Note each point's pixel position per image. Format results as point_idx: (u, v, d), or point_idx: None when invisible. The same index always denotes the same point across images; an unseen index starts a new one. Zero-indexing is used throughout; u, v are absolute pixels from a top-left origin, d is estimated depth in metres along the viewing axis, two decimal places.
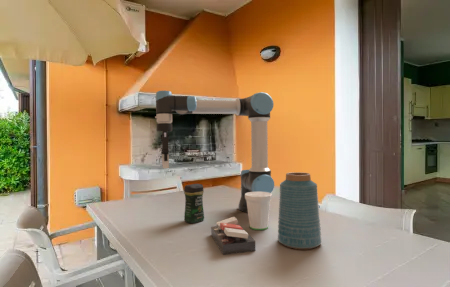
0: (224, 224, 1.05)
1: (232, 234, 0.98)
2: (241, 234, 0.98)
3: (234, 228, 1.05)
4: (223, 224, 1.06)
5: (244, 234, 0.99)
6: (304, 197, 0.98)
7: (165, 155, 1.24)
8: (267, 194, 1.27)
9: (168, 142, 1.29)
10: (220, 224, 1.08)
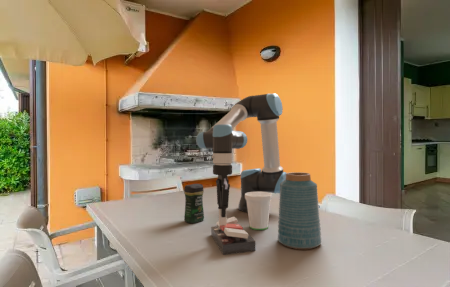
0: (224, 225, 1.05)
1: (232, 234, 0.98)
2: (241, 234, 0.98)
3: (234, 228, 1.05)
4: (223, 225, 1.06)
5: (244, 234, 0.99)
6: (304, 197, 0.98)
7: (223, 210, 1.04)
8: (267, 194, 1.27)
9: None
10: (220, 225, 1.08)
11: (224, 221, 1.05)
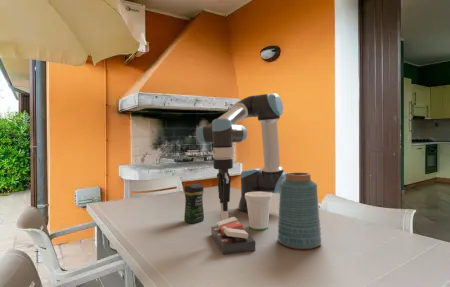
0: (223, 227, 1.05)
1: (232, 234, 0.98)
2: (241, 234, 0.98)
3: (234, 227, 1.05)
4: (222, 228, 1.06)
5: (244, 234, 0.99)
6: (304, 197, 0.98)
7: (225, 204, 1.04)
8: (267, 194, 1.27)
9: None
10: (220, 228, 1.08)
11: (226, 215, 1.06)
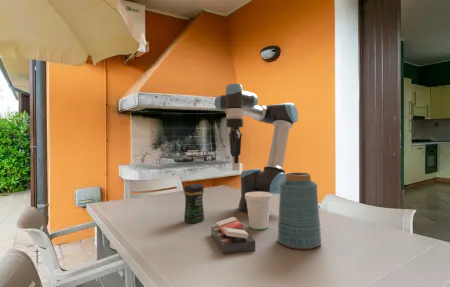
0: (223, 228, 1.05)
1: (232, 234, 0.98)
2: (241, 234, 0.98)
3: (233, 227, 1.05)
4: (222, 229, 1.06)
5: (244, 234, 0.99)
6: (304, 197, 0.98)
7: (236, 157, 1.22)
8: (267, 194, 1.27)
9: None
10: (220, 229, 1.08)
11: (237, 167, 1.23)
